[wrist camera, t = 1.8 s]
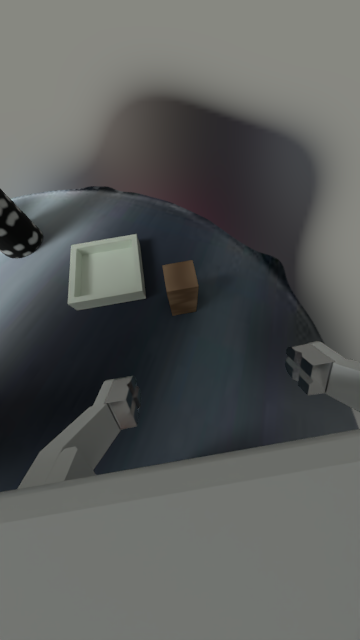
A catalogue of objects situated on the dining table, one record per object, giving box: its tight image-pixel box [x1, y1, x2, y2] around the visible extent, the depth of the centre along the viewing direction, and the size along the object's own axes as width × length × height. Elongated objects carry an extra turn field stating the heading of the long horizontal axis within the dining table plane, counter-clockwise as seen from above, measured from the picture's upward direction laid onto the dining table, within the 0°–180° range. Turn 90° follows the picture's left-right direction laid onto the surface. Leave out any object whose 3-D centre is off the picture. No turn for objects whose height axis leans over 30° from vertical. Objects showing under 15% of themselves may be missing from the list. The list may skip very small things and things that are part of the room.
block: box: [162, 260, 199, 316], centre depth 26 cm, size 4×4×8 cm
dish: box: [68, 234, 146, 310], centre depth 31 cm, size 12×12×3 cm
